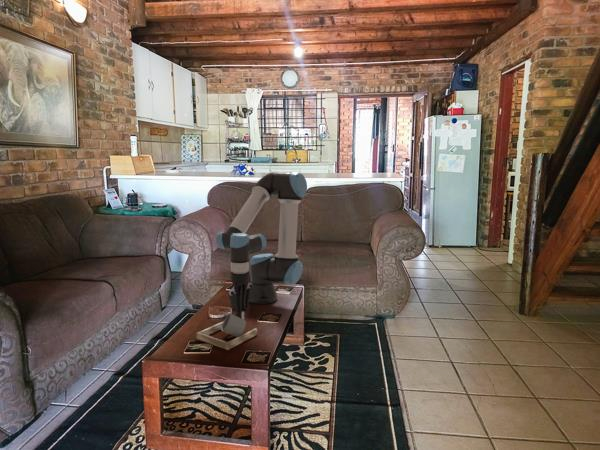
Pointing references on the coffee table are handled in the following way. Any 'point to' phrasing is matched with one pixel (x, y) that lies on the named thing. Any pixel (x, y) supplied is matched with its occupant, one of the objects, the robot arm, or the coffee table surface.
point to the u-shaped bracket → (220, 343)
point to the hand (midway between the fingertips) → (240, 325)
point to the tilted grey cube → (234, 325)
